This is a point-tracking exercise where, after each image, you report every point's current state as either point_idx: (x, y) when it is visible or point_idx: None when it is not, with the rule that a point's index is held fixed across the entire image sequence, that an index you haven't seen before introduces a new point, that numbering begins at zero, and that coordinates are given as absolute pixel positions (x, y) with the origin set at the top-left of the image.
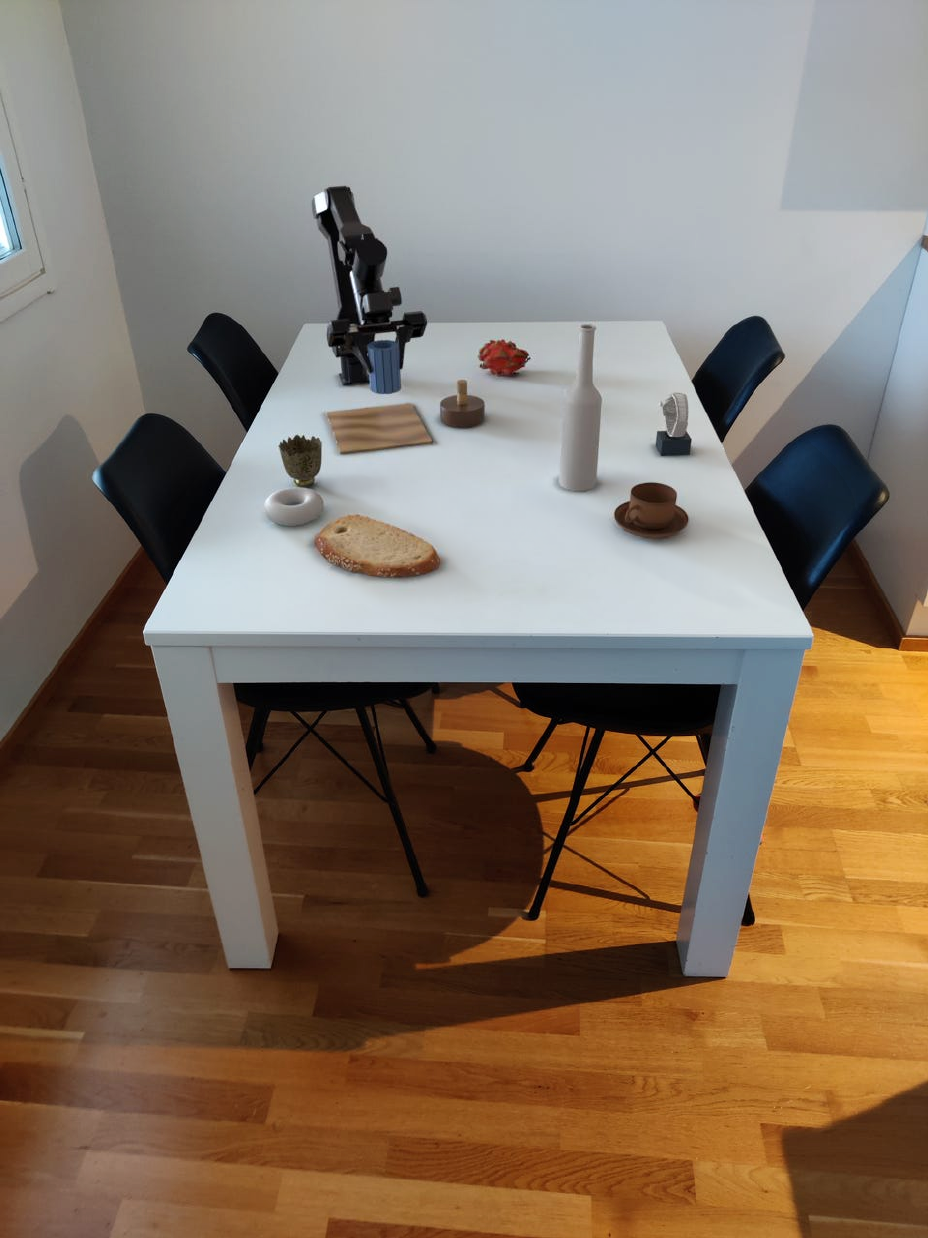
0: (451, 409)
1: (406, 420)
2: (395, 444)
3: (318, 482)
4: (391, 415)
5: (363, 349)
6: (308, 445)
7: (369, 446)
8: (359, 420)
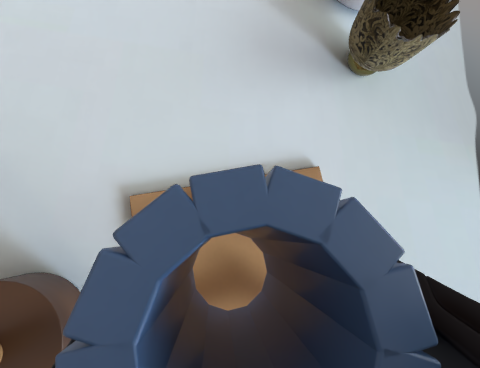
0: (35, 302)
1: None
2: None
3: (340, 68)
4: None
5: (443, 311)
6: (394, 46)
7: None
8: None
